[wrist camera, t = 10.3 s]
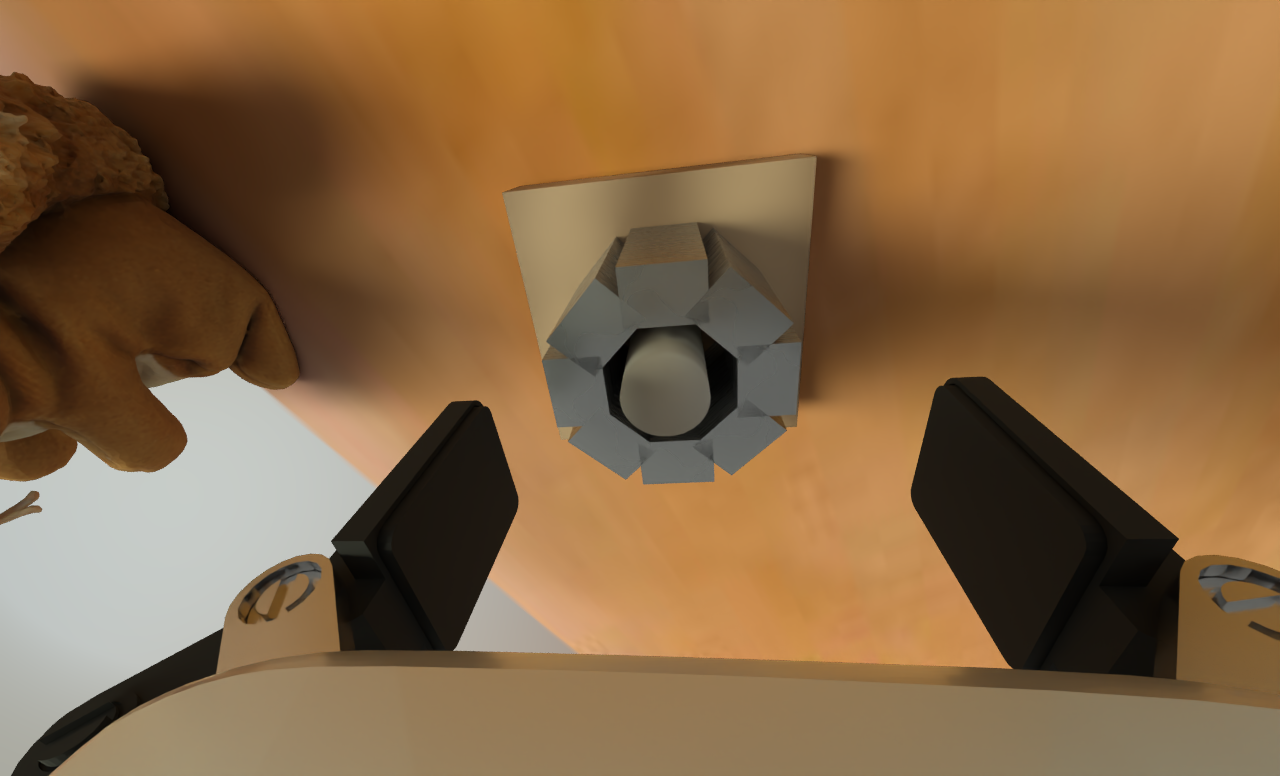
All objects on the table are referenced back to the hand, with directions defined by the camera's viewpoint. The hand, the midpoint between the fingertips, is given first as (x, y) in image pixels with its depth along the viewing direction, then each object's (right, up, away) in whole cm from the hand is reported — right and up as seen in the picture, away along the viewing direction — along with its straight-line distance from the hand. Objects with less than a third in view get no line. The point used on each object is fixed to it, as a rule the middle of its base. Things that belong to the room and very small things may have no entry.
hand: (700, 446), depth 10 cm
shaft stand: (0, +5, +9) cm, 10 cm away
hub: (0, +4, +7) cm, 8 cm away
